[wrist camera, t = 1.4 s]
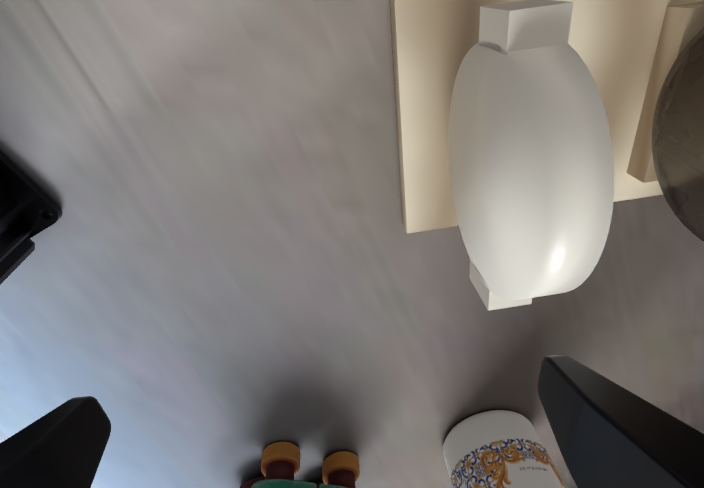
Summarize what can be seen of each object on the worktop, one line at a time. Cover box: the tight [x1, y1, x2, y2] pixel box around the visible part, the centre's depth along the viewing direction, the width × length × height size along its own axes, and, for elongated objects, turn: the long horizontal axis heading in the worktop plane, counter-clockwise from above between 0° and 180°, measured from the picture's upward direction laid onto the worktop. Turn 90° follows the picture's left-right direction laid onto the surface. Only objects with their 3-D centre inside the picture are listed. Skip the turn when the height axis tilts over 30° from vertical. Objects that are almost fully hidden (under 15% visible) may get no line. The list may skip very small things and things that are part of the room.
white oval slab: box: [448, 0, 614, 311], centre depth 14 cm, size 2×10×8 cm, turn 6°
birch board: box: [390, 0, 704, 233], centre depth 19 cm, size 17×10×2 cm, turn 97°
